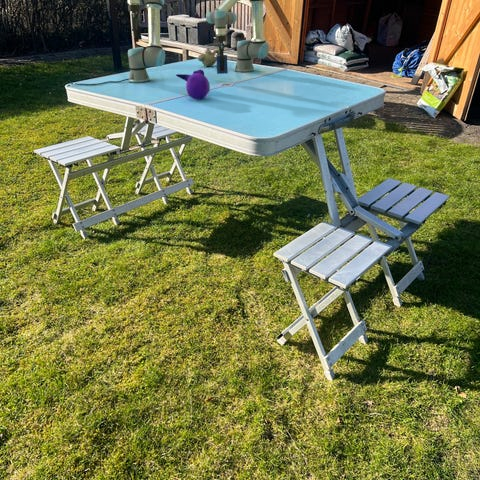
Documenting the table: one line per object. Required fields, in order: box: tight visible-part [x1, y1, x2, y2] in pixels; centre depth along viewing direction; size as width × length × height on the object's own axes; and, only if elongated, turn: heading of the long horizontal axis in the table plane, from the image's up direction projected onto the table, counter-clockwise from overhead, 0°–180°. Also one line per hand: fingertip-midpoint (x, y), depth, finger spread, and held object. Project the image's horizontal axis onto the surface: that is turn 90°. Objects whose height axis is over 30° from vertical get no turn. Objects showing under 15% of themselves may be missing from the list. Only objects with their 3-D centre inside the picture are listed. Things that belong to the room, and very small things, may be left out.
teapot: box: [197, 47, 220, 68], centre depth 386 cm, size 21×12×15 cm, turn 120°
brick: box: [215, 54, 229, 75], centre depth 323 cm, size 8×5×12 cm, turn 94°
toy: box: [175, 69, 211, 100], centre depth 285 cm, size 16×18×27 cm
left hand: (138, 40), depth 293 cm, fingers open, 13 cm apart
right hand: (222, 70), depth 325 cm, fingers closed on brick, 5 cm apart
